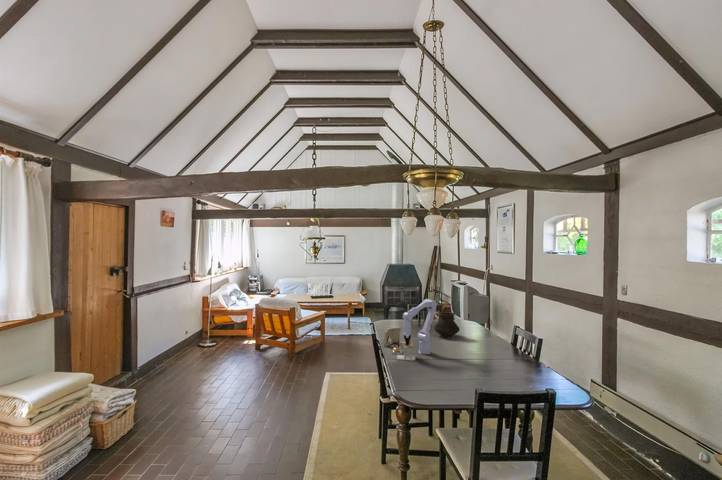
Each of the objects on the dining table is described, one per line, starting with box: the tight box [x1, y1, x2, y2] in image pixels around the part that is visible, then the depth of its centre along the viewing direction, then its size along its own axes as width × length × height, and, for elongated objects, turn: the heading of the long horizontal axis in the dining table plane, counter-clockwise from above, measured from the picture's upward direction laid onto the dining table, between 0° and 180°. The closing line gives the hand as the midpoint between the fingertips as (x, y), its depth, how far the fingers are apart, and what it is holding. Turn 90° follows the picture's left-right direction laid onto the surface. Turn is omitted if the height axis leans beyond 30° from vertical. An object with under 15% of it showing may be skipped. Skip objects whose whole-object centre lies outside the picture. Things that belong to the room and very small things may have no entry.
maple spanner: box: [398, 340, 414, 349], centre depth 296 cm, size 11×4×4 cm, turn 82°
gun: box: [382, 326, 402, 348], centre depth 332 cm, size 24×3×15 cm, turn 143°
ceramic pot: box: [433, 311, 461, 338], centre depth 360 cm, size 24×24×22 cm
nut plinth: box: [390, 348, 403, 355], centre depth 305 cm, size 9×9×1 cm
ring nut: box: [392, 344, 401, 352], centre depth 306 cm, size 8×6×3 cm
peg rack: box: [396, 351, 416, 362], centre depth 289 cm, size 14×8×4 cm, turn 82°
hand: (407, 344), depth 296 cm, fingers closed on maple spanner, 3 cm apart
